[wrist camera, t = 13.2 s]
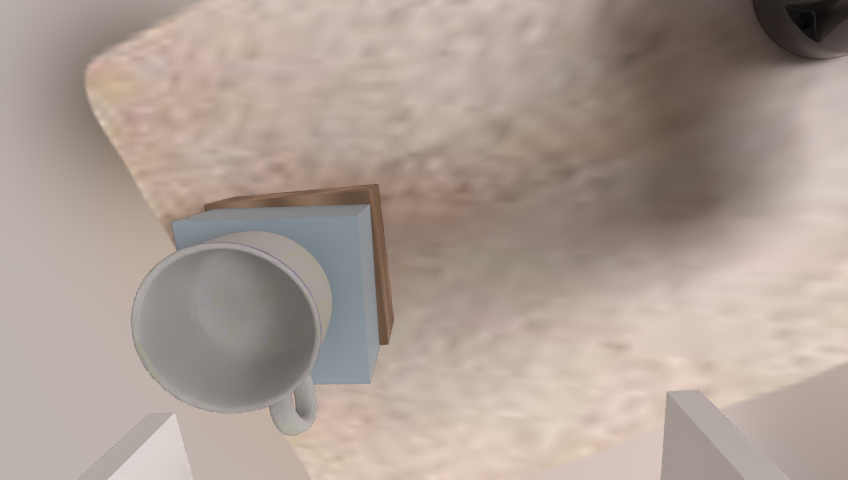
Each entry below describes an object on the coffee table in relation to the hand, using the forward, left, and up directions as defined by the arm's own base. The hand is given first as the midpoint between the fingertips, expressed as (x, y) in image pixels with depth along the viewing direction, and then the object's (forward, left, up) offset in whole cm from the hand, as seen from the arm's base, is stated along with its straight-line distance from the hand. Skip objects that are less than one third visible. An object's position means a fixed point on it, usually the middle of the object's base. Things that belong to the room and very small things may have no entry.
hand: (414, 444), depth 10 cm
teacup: (+12, +3, -20) cm, 23 cm away
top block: (+12, +3, -25) cm, 28 cm away
